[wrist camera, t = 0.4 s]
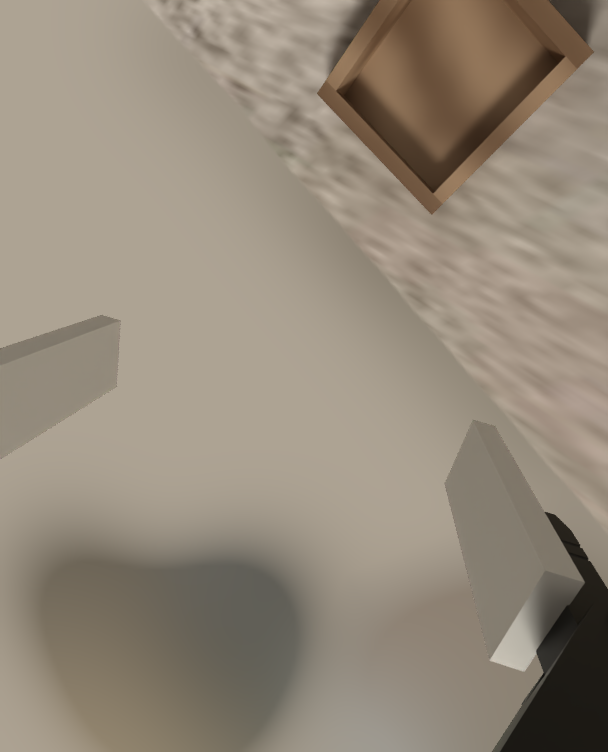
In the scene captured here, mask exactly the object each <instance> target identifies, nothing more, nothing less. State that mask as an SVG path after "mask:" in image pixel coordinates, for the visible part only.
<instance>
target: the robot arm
mask: <svg viewBox="0 0 608 752" xmlns="http://www.w3.org/2000/svg"><path fill="white" fill-rule="evenodd" d="M120 322H121V321H120V320H117V319H113V318H110V317H106V316H103V315H100V316H97V317H94V318H91V319H88V320H85V321H82V322H79V323H76V324H73V325H70V326H67V327H64V328H61V329H58V330H55V331H52V332H49V333H46V334H43V335H40V336H36V337H33V338H31V339H27V340H24V341H21V342H18V343H15V344H12V345H9V346H6V347H3V348H0V459H2V458H3V457H5V456H7V455H8V454H10V453H11V452H13V451H14V450H16V449H18V448H19V447H21V446H23V445H24V444H26V443H27V442H29V441H30V440H32V439H34V438H35V437H37V436H39V435H40V434H42V433H43V432H45V431H47V430H48V429H50V428H52V427H53V426H55V425H56V424H58V423H60V422H61V421H63V420H64V419H66V418H67V417H69V416H71V415H72V414H74V413H76V412H77V411H79V410H80V409H82V408H84V407H85V406H87V405H88V404H90V403H92V402H93V401H95V400H96V399H98V398H100V397H101V396H103V395H105V394H106V393H108V392H109V391H111V390H112V389H114V388H116V387H117V372H118V355H119V339H120ZM445 487H446V491H447V495H448V499H449V503H450V506H451V511H452V514H453V519H454V523H455V527H456V531H457V534H458V538H459V542H460V546H461V550H462V554H463V558H464V561H465V566H466V570H467V574H468V578H469V581H470V586H471V589H472V594H473V597H474V601H475V605H476V609H477V613H478V617H479V621H480V625H481V629H482V633H483V637H484V641H485V645H486V649H487V653H488V657H489V660H490V661H493V662H496V663H499V664H502V665H505V666H508V667H511V668H514V669H517V670H520V671H525V670H526V668H527V667H528V665H529V664H530V662H531V661H532V660H533V658H534V656H535V655H536V654H537V655H538V658H539V661H540V663H541V666H542V669H543V672H544V673H543V675H542V676H541V677H540V679H539V680H538V682H537V683H536V684H535V686H534V687H533V689H532V690H531V691H530V693H529V694H528V696H527V697H526V698H525V700H524V701H523V703H522V706H521V708H520V709H519V711H518V713H517V714H516V715H515V717H514V719H513V720H512V722H511V723H510V725H509V726H508V728H507V729H506V731H505V733H504V734H503V736H502V737H501V739H500V740H499V742H498V743H497V745H496V746H495V748H494V749H493V751H492V752H608V589H607V587H606V586H605V584H604V582H603V581H602V579H601V578H600V576H599V575H598V573H597V572H596V570H595V568H594V566H593V565H592V563H591V562H590V561H588V557H587V555H586V554H585V552H584V551H583V549H582V548H580V544H579V542H578V541H577V539H576V538H575V536H574V534H573V533H572V531H571V530H570V529H569V528H568V527H567V526H566V525H565V524H564V523H563V522H562V521H561V520H560V519H559V518H558V517H557V516H556V515H554V514H550V513H547V512H544V510H543V509H542V507H541V505H540V503H539V502H538V500H537V498H536V497H535V495H534V493H533V491H532V490H531V488H530V486H529V484H528V483H527V481H526V479H525V477H524V476H523V474H522V472H521V470H520V469H519V467H518V465H517V464H516V462H515V460H514V458H513V457H512V455H511V453H510V451H509V450H508V448H507V446H506V444H505V443H504V441H503V439H502V437H501V436H500V434H499V432H498V431H497V429H496V427H495V426H493V425H489V424H486V423H482V422H479V421H475V420H473V421H472V423H471V425H470V428H469V430H468V432H467V434H466V437H465V439H464V441H463V444H462V446H461V448H460V451H459V453H458V455H457V457H456V459H455V462H454V464H453V466H452V468H451V471H450V473H449V475H448V477H447V480H446V482H445Z"/></svg>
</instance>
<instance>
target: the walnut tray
mask: <svg viewBox="0 0 608 752" xmlns="http://www.w3.org/2000/svg"><path fill="white" fill-rule="evenodd" d="M593 52H594V51H593V50H592V49H591V48H590V47H589V46H588V45H587V44H586V42H585V41H584V40H583V39H582V38H581V37H580V36H579V35H578V33H577V32H576V31H575V30H574V29H573V28H572V27H571V26H570V24H569V23H568V22H567V21H566V20H565V19H564V18H563V17H562V15H561V14H560V13H559V12H558V11H557V10H556V9H555V8H554V6H553V5H552V4H551V3H550V2H549V1H548V0H379V2H378V3H377V5H376V6H375V8H374V9H373V11H372V12H371V14H370V15H369V17H368V18H367V20H366V21H365V23H364V24H363V26H362V27H361V29H360V30H359V32H358V33H357V35H356V36H355V38H354V39H353V41H352V42H351V44H350V45H349V47H348V48H347V50H346V51H345V53H344V54H343V56H342V57H341V59H340V60H339V62H338V63H337V65H336V66H335V68H334V69H333V71H332V72H331V74H330V75H329V77H328V78H327V80H326V81H325V83H324V84H323V86H322V87H321V88H320V90H319V91H318V93H317V94H318V95H319V96H320V97H321V98H322V100H323V101H324V102H325V103H326V104H327V105H328V106H329V107H330V108H331V109H332V110H333V111H334V112H335V113H336V114H337V115H338V116H339V117H340V119H341V120H342V121H343V122H344V123H345V124H346V125H347V126H348V127H349V128H350V129H351V130H352V131H353V132H354V133H355V134H356V135H357V136H358V138H359V139H360V140H361V141H362V142H363V143H364V144H365V145H366V146H367V147H368V148H369V149H370V150H371V151H372V152H373V153H374V154H375V155H376V156H377V158H378V159H379V160H380V161H381V162H382V163H383V164H384V165H385V166H386V167H387V168H388V169H389V170H390V171H391V172H392V173H393V174H394V175H395V177H396V178H397V179H398V180H399V181H400V182H401V183H402V184H403V185H404V186H405V187H406V188H407V189H408V190H409V191H410V192H411V193H412V194H413V196H414V197H415V198H416V199H417V200H418V201H419V202H420V203H421V204H422V205H423V206H424V207H425V208H426V209H427V210H428V211H429V212H430V213H431V215H432V214H433V213H434V212H435V211H436V210H437V209H438V208H439V207H440V206H441V205H442V204H443V203H444V202H445V201H446V200H447V199H448V198H449V197H450V196H451V195H452V194H453V193H454V192H455V191H456V190H457V189H458V188H459V187H460V186H461V185H462V184H463V183H464V182H465V181H466V180H467V179H468V178H469V177H470V176H471V175H472V174H473V173H474V172H475V171H476V170H477V169H478V168H479V167H480V166H481V165H482V164H483V163H484V162H485V161H486V160H487V159H488V158H489V157H490V156H491V155H492V154H493V153H494V152H495V151H496V150H497V149H498V148H499V147H500V146H501V145H502V144H503V143H504V142H505V141H506V140H507V139H508V138H509V137H510V136H511V135H512V134H513V133H514V132H515V131H516V130H517V129H518V128H519V127H520V126H521V125H522V124H523V123H524V122H525V121H526V120H527V119H528V118H529V117H530V116H531V115H532V114H533V113H534V112H535V111H536V110H537V109H538V108H539V107H540V106H541V105H542V104H543V103H544V102H545V101H546V100H547V99H548V98H549V97H550V96H551V95H552V94H553V93H554V92H555V91H556V90H557V89H558V88H559V87H560V86H561V85H562V84H563V83H564V82H565V81H566V80H567V79H568V78H569V77H570V76H571V75H572V74H573V73H574V72H575V71H576V70H577V68H578V67H579V66H580V65H581V64H582V63H583V62H584V61H585V60H586V59H587V58H588V57H589V56H590V55H591V54H592V53H593Z"/></svg>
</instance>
